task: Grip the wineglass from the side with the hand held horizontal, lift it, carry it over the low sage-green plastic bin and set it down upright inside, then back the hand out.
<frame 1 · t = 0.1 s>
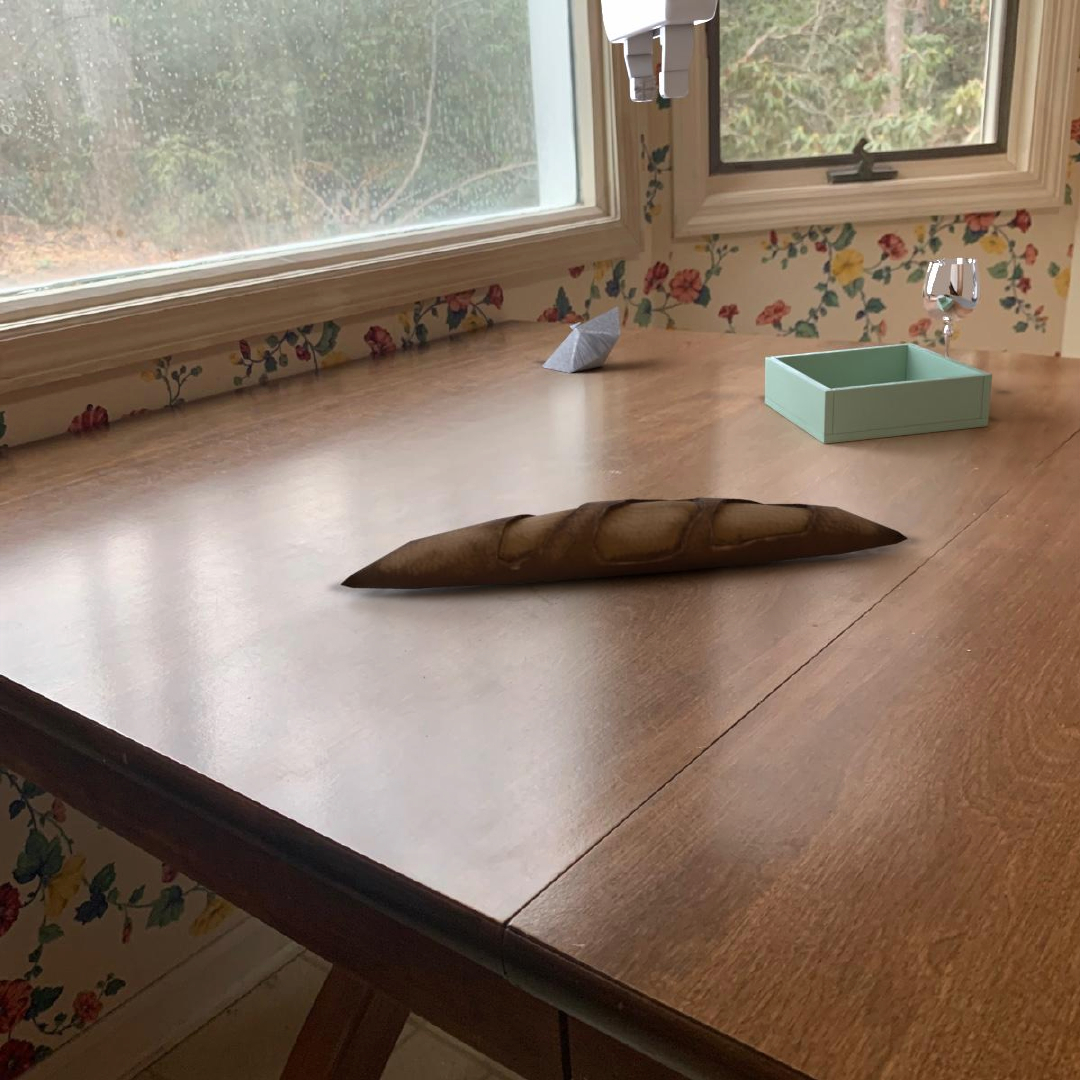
hand: (657, 99, 83), 29 cm above the table, tool pointing down, fingers open, 8 cm apart
wineglass: (945, 376, 118), on the table
bread: (626, 574, 73), on the table
bin: (869, 414, 105), on the table
paper boat: (589, 366, 134), on the table
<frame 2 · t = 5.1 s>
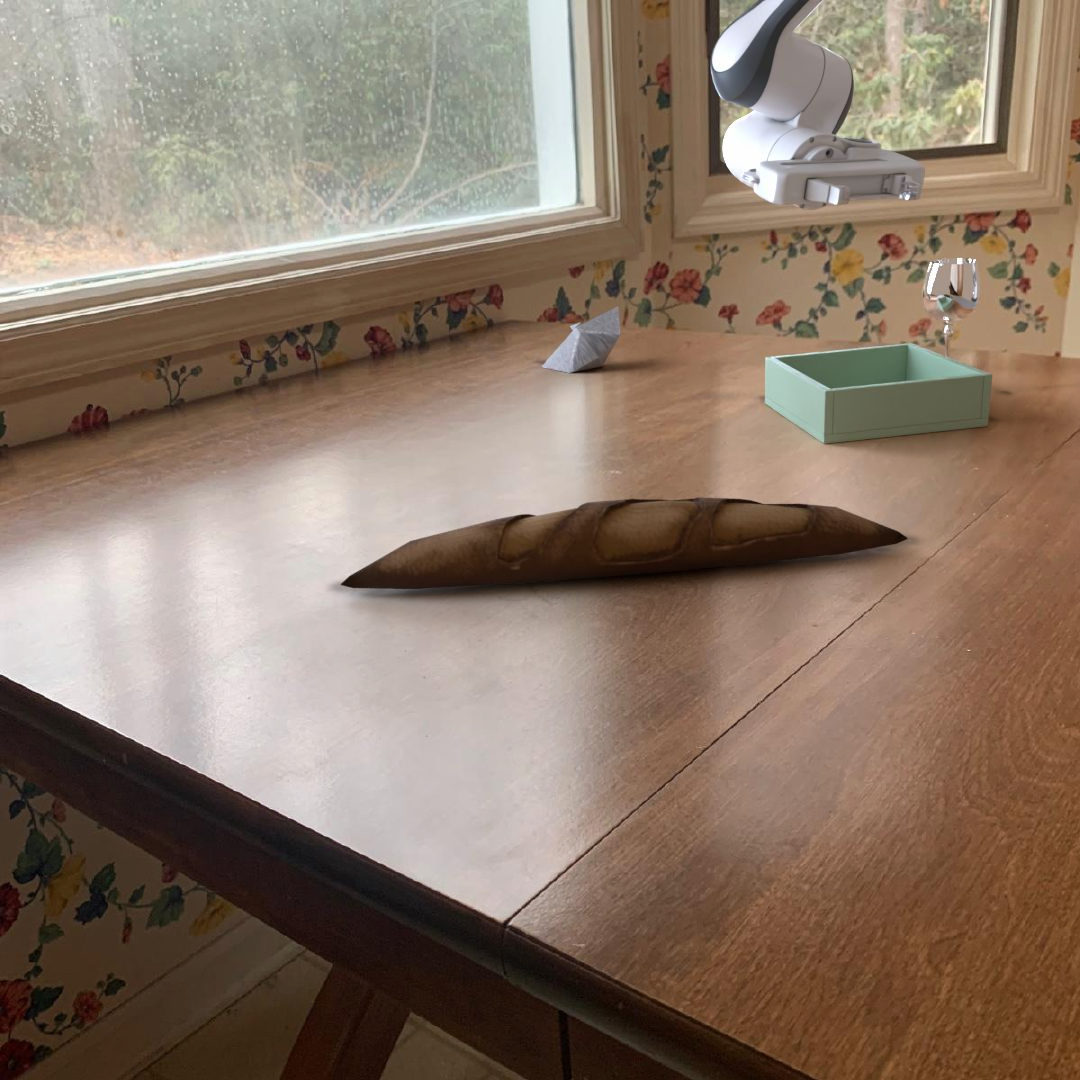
hand: (880, 194, 120), 18 cm above the table, tool horizontal, fingers open, 8 cm apart
nothing on the table moved.
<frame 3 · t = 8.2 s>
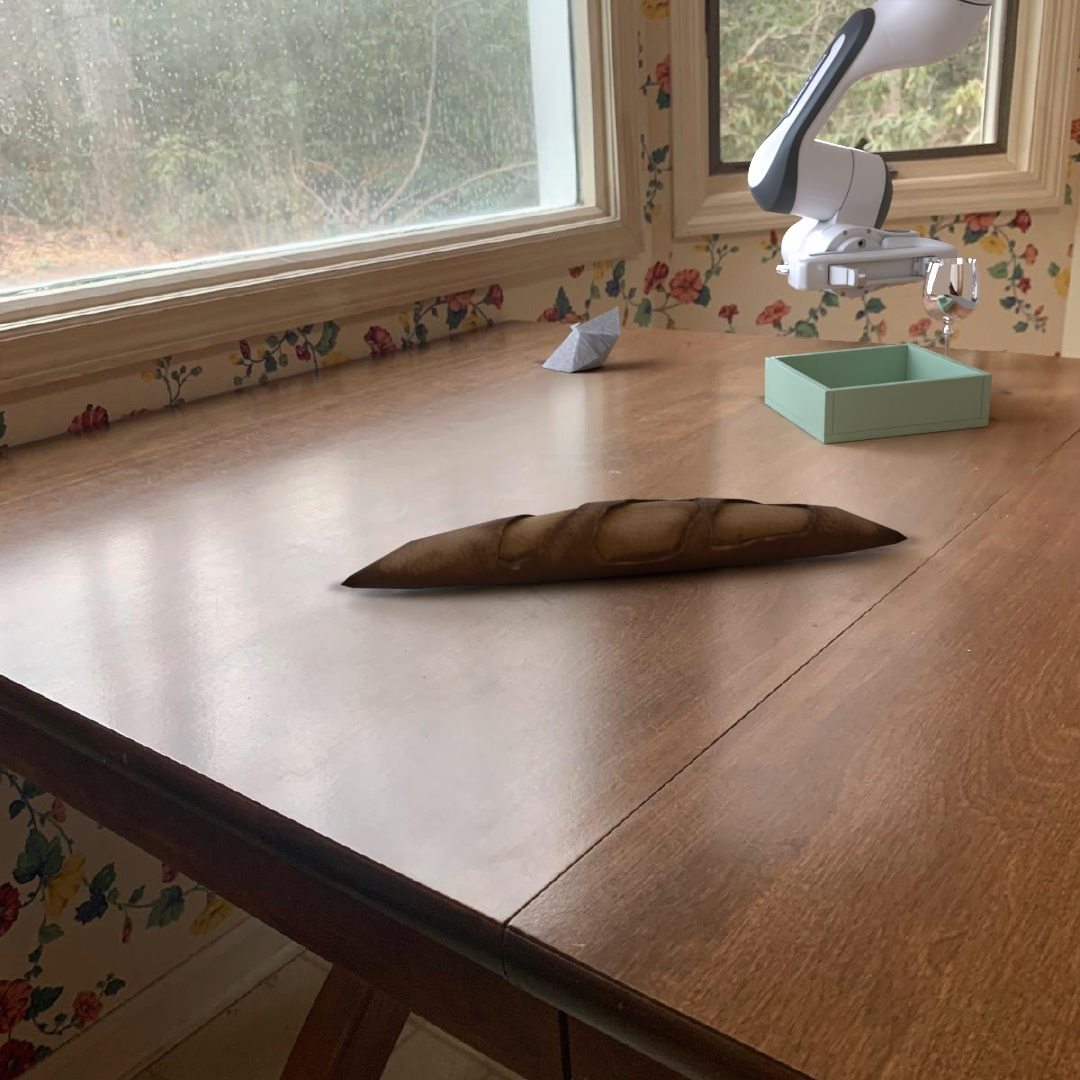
hand: (899, 274, 126), 9 cm above the table, tool horizontal, fingers open, 8 cm apart
nothing on the table moved.
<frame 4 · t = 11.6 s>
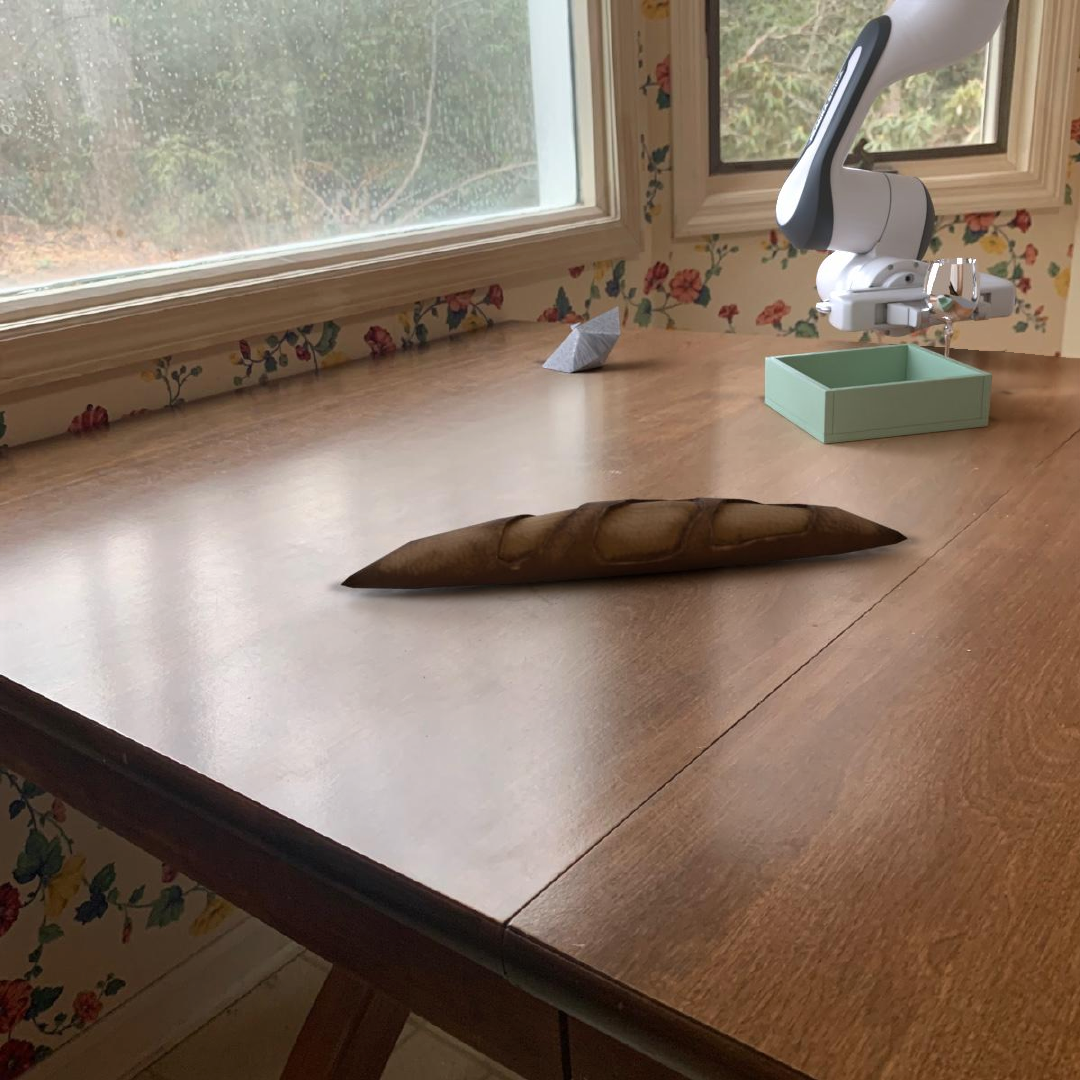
hand: (954, 315, 115), 7 cm above the table, tool horizontal, fingers closed on wineglass, 5 cm apart
wineglass: (945, 376, 118), on the table, touching gripper
everything else where it was.
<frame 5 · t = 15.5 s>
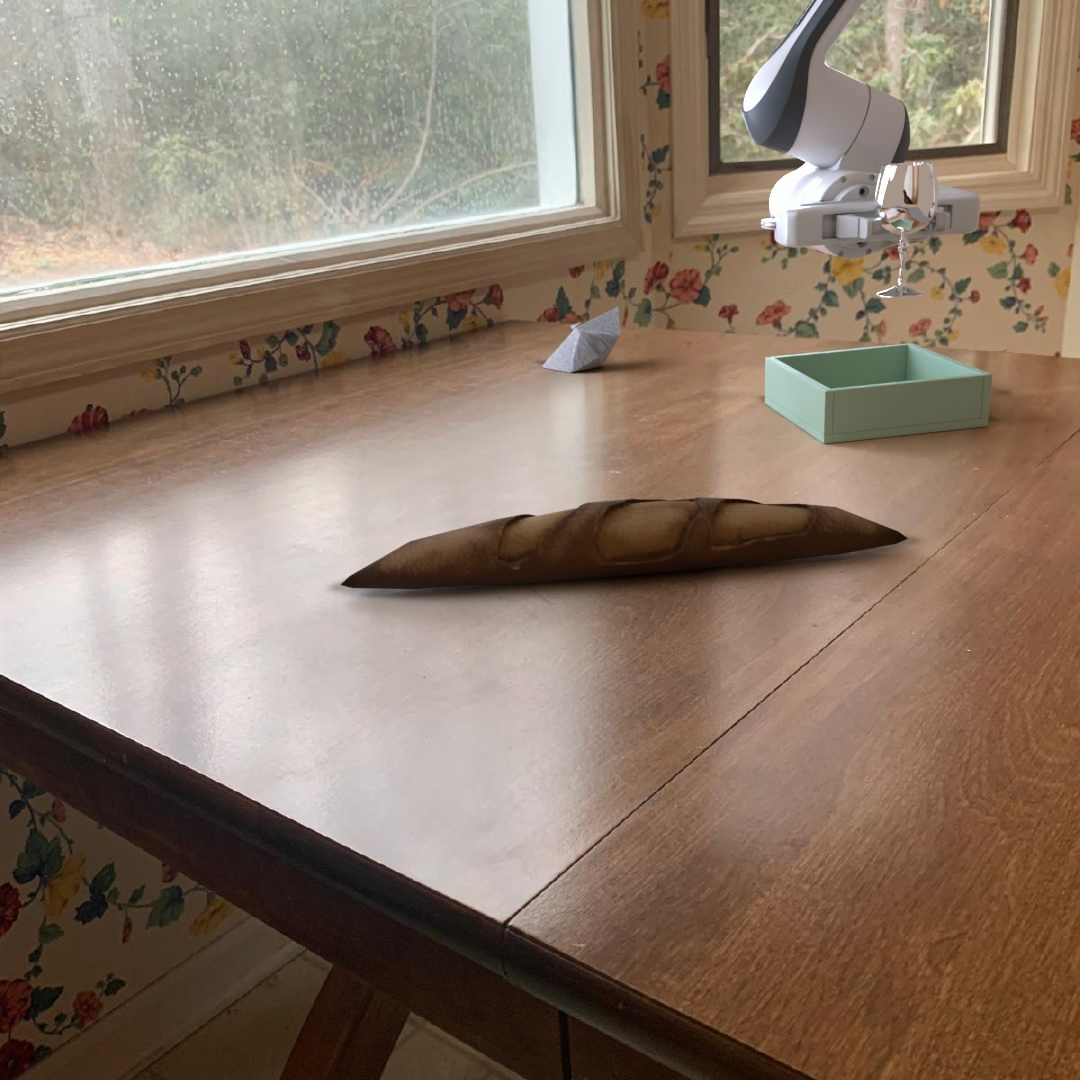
hand: (909, 225, 103), 17 cm above the table, tool horizontal, fingers closed on wineglass, 5 cm apart
wineglass: (900, 296, 106), point 10 cm above the table, touching gripper
everything else where it was.
when the fingers open (7 cm above the table, at t = 19.5 s): wineglass stays where it is, resting on bin.
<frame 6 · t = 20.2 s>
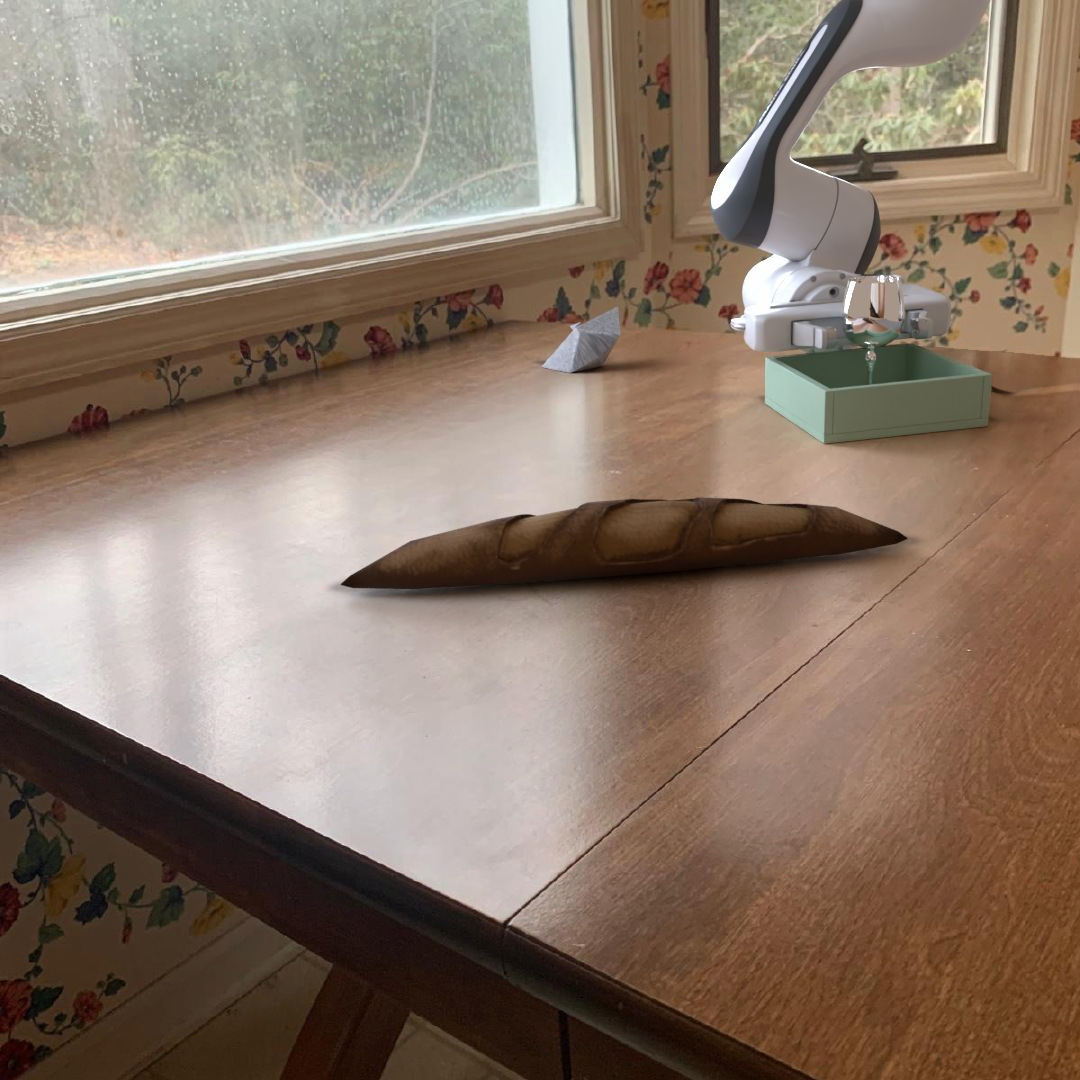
hand: (878, 334, 101), 8 cm above the table, tool horizontal, fingers open, 8 cm apart
wineglass: (868, 407, 105), point 1 cm above the table, touching bin
everything else where it was.
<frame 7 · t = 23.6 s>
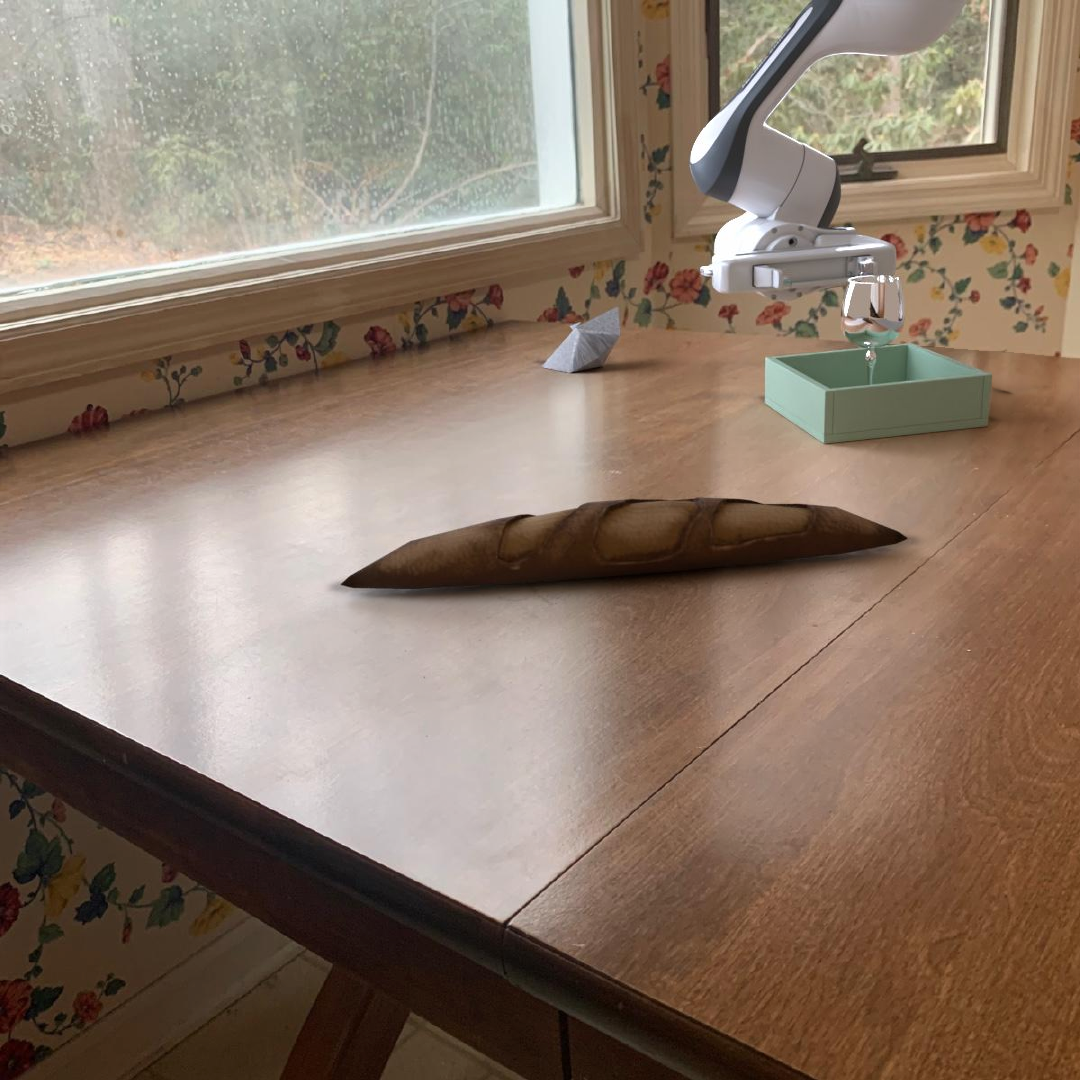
hand: (828, 275, 114), 11 cm above the table, tool horizontal, fingers open, 8 cm apart
nothing on the table moved.
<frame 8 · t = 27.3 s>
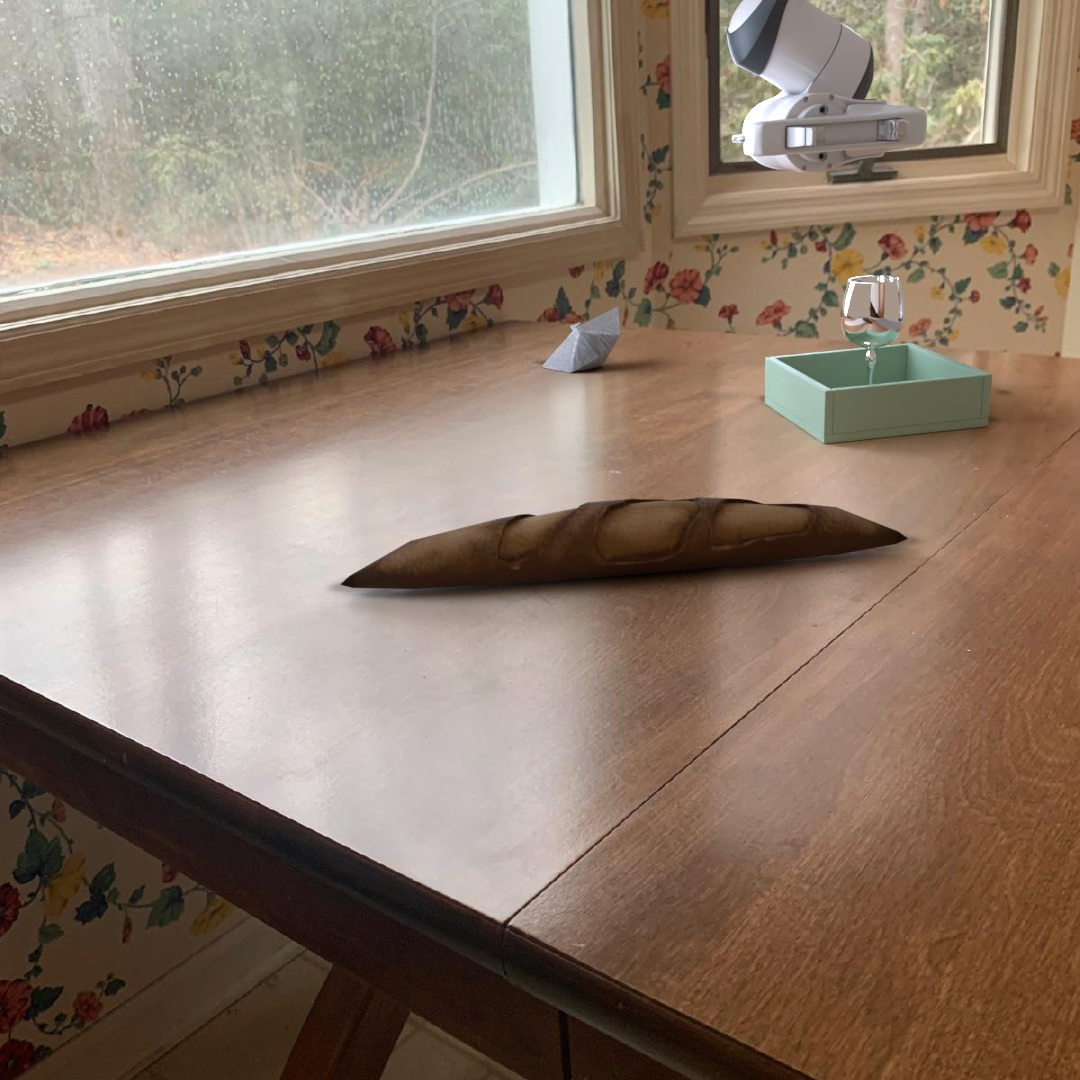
hand: (861, 133, 116), 25 cm above the table, tool horizontal, fingers open, 8 cm apart
nothing on the table moved.
at the end: wineglass inside the target area in the bin (0.1 cm from its centre), point 0.6 cm above the bin's base; wineglass tilted 0°; the gripper is holding nothing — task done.
